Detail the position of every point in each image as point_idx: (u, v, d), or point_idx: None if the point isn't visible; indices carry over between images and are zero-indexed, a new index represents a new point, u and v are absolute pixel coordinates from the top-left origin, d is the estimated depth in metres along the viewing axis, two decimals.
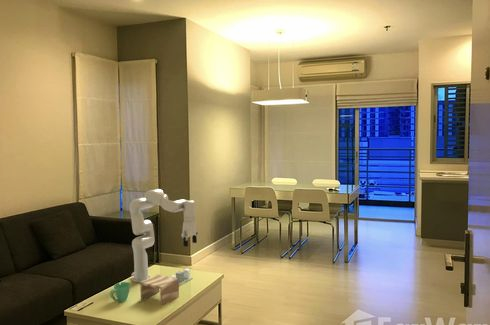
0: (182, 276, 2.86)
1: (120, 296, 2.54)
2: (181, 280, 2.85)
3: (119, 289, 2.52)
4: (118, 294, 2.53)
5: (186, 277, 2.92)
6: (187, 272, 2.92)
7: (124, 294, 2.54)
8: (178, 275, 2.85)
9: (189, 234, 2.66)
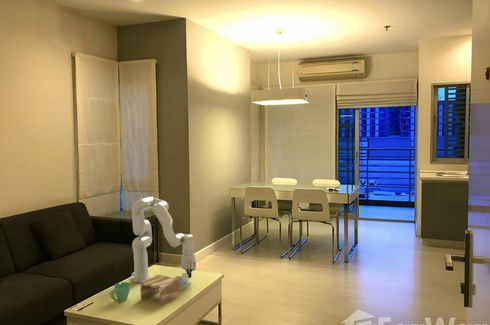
0: (180, 281, 2.76)
1: (120, 296, 2.54)
2: (179, 285, 2.75)
3: (119, 289, 2.52)
4: (118, 294, 2.53)
5: (185, 282, 2.82)
6: (186, 277, 2.82)
7: (124, 294, 2.54)
8: None
9: None
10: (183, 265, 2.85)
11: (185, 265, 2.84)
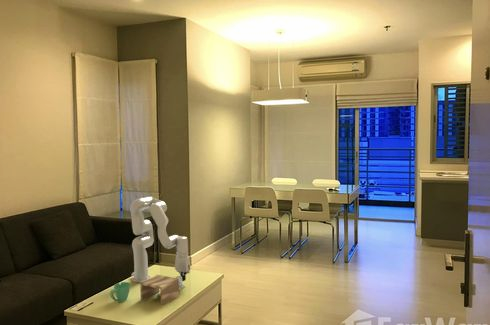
0: None
1: (120, 296, 2.54)
2: None
3: (119, 289, 2.52)
4: (118, 294, 2.53)
5: None
6: (179, 280, 2.76)
7: (124, 294, 2.54)
8: None
9: None
10: (177, 268, 2.79)
11: (179, 268, 2.78)
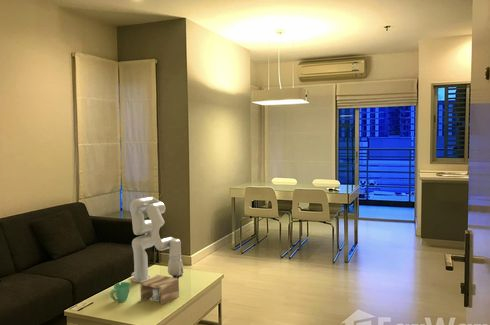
0: None
1: (120, 296, 2.54)
2: None
3: (119, 289, 2.52)
4: (118, 294, 2.53)
5: None
6: None
7: (124, 294, 2.54)
8: None
9: None
10: (170, 271, 2.72)
11: (172, 271, 2.71)
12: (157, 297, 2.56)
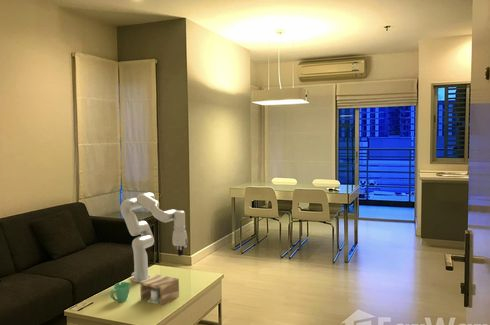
0: None
1: (120, 296, 2.54)
2: None
3: (119, 289, 2.52)
4: (118, 294, 2.53)
5: None
6: None
7: (124, 294, 2.54)
8: None
9: None
10: (174, 242, 2.76)
11: (176, 242, 2.75)
12: (155, 299, 2.53)
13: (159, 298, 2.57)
